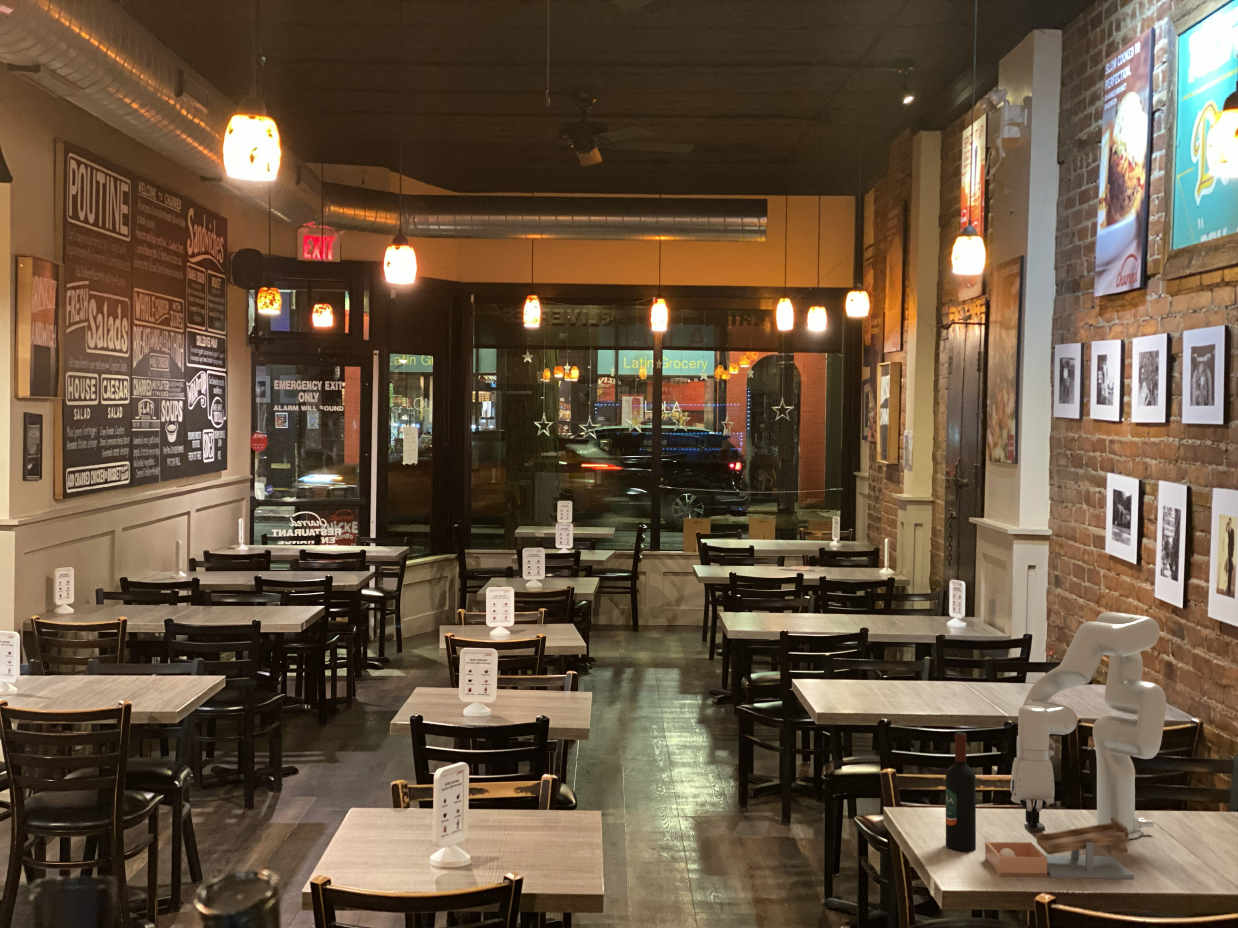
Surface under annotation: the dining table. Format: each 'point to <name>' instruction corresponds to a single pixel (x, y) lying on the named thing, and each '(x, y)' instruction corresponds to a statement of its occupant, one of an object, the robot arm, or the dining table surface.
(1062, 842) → the lever
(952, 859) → the dining table surface
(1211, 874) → the dining table surface
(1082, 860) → the stand
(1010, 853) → the ball
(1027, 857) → the pink hollow square tray
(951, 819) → the wine bottle
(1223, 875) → the dining table surface
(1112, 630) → the robot arm
